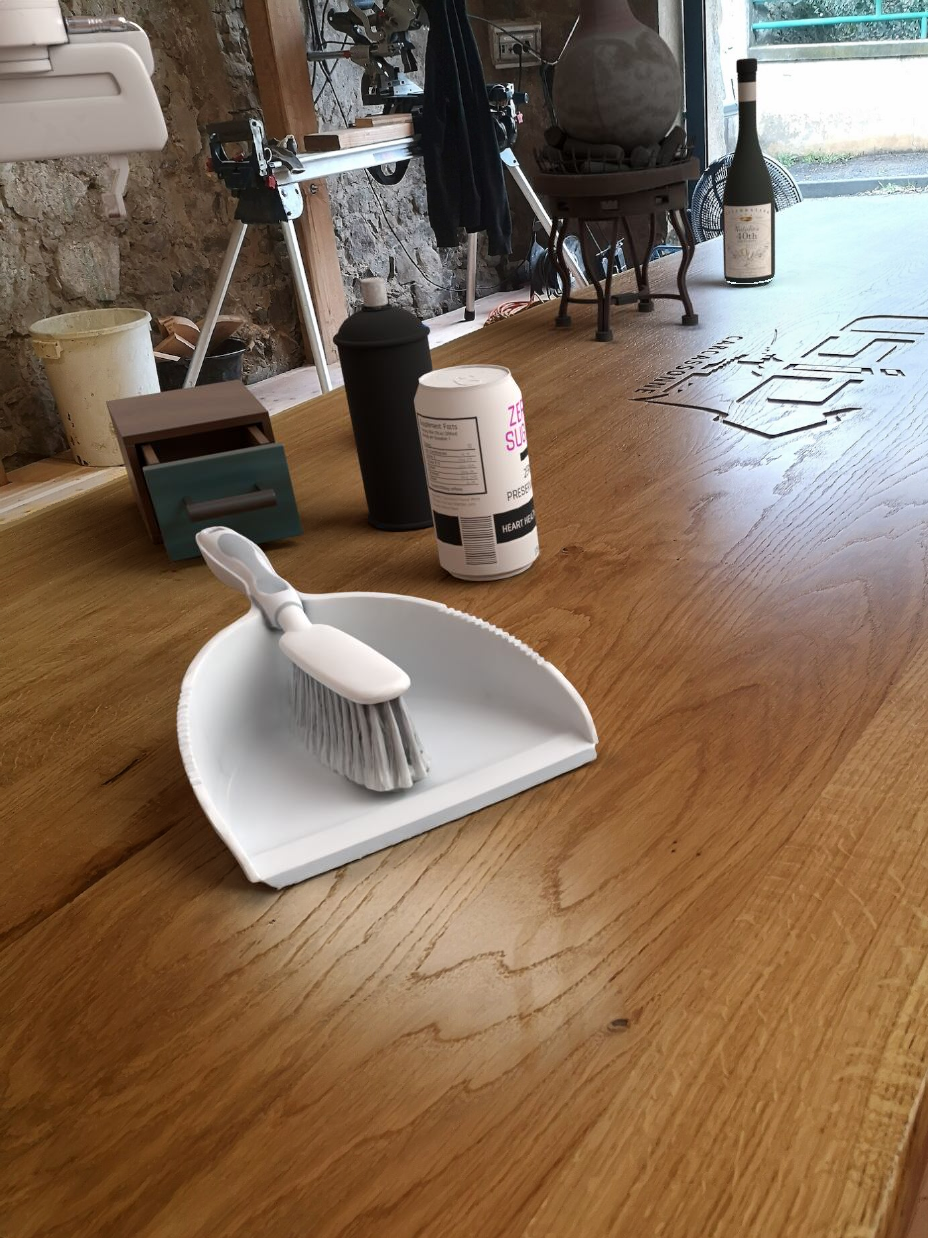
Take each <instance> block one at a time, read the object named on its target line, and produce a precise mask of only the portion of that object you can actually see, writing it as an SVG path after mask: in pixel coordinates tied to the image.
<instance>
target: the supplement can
mask: <svg viewBox="0 0 928 1238" xmlns="http://www.w3.org/2000/svg"><path fill="white" fill-rule="evenodd" d="M520 389H521V388H520V387H519V386H518V383H516V381H515V380H514V378H513V376H512V373H511V370H510V369H509V368H508V367H505V366H502V365H496V364H480V363H479V364H477V363H476V364H464V365H456V366H449V367H443V368H439V369H435V370H433V371H432V372H430V373H427V374H425V375H423V376H422V377H420V378H419V386H418V389H417V392H416V395H415V398H414V405H415V411H416V417H417V423H418V429H419V435H420V442H421V448H422V454H423V460H424V466H425V473H426V479H427V485H428V491H429V497H430V503H431V510H432V516H433V522H434V526H433V527H434V535H435V540H436V546H437V550H438V559H439V565H440V567H441V568H443V569H444V570H445V571H446V572H448V573H449V574H450V575H452V576H453V577H455V578H456V579H461V580H464V581H473V582H474V581H476V582H483V581H496V580H501V579H508V578H511V577H513V576H516V575H519V574H521V573H523V572H525V571H526V570H528V569H530V568H531V566H532V564H533V563H534V561H535V560H537V558H538V556H539V555H540V547H539V546H540V545H539V537H538V528H537V519H536V511H535V502H534V493H533V485H532V477H531V476H532V475H531V468H530V467H531V466H530V460H529V451H528V450H529V449H528V441H527V440H528V439H527V431H526V423H525V416H524V415H525V413H524V406H523V398H522V391H521V390H520Z"/></svg>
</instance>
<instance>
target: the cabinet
mask: <svg viewBox="0 0 928 1238" xmlns="http://www.w3.org/2000/svg"><path fill="white" fill-rule="evenodd" d="M105 403H106V408H107V410H108V414H109V418H110V420H111V424H112V427H113V432H114V433H115V437H116V441H117V444H118V447H119V451H120V454H121V457H122V461H123V464H124V466H125V470H126V474H127V478H128V481H129V484H130V487H131V490H132V494H133V498H134V500H135V504H136V506H137V509H138V510H139V513H140V515H141V518H142V520H143V522H144V525H145V528H146V529H147V532H148V534H149V537H150V539H151V541H152V543H153V545H157V544H162V543H164V540H163V537H162V533H161V530H160V527H159V523H158V520H157V516H156V513H155V509H154V506H153V503H152V499H151V496H150V492H149V489H148V485H147V482H146V478H145V475H144V472H143V467H144V464H143V461H142V457H141V454H140V450H139V447H138V444H139V443H145V442H150V441H156V440H162V439H167V438H173V437H179V436H184V435H190V434H196V433H201V432H207V431H213V430H218V429H224V428H230V427H236V426H241V425H247V424H253V423H254V424H255V425H256V427H257V428H258V429H259V430H260V431H261V433H262V434H263V435H264V436H265V437H266V439H267V440H268V441H269V442H270V444H272V443H276V439H275V433H274V430H273V426H272V422H271V416H270V413H269V411H268V409H267V408H266V407H265V406H264V405H263V404H262V403H261V402H260V401H259V400H258V399H257V397H256V396H255V395H254V394H253V393H252V391H251V390H249V388H248V387H247V386H246V385H245V384H244V383H243V382H242V381H241V379H233V380H227V381H221V382H215V383H209V384H202V385H197V386H191V387H185V388H178V389H173V390H166V391H160V392H154V393H148V394H142V395H136V396H130V397H124V398H118V399H117V398H116V399H111V400H106V401H105Z"/></svg>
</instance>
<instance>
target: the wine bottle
mask: <svg viewBox="0 0 928 1238" xmlns="http://www.w3.org/2000/svg"><path fill="white" fill-rule="evenodd" d="M735 70H736V71H735V72H736V74H737V75H736V76H737V104H738V105H737V109H738V111H737V112H738V131H737V140H736V145H735V149H734V151H733V152H734V153H733V156H732V160H731V163H730V165H729V168H728V172H727V176H726V178H725V183H724V187H723V193H722V194H723V195H722V204H721V205H722V208H721V209H722V210H721V211H722V246H723V247H722V249H723V279H724V280H725V279H726V281H730V282H736V283H754V282H759V281H765V280H768V279H771V278H773V277H775V276H774V275H776V198H775V191H774V186H773V185H774V184H773V180H772V177H771V174H770V172H769V168H768V165H767V163H766V160H765V158H764V155H763V151H762V149H761V145H760V139H759V135H758V127H757V125H758V124H757V75H758V73H757V72H758V59H757V58H756V57H755V58H754V57H749V58H739V59H736V61H735ZM773 279H774V278H773ZM726 281H725V282H726ZM772 281H773V280H771V281H769V282H764V283H758V284H731V283H727V285H730V286H732V287H739V288H740V287H745V288H746V287H747V288H749V287H759V286H764V285H768V284H770V283H771V282H772Z"/></svg>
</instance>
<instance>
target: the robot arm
mask: <svg viewBox="0 0 928 1238" xmlns="http://www.w3.org/2000/svg"><path fill="white" fill-rule="evenodd" d="M127 27H128V28H132V29H134V30H131V31H130V30H129V31H127V30H128V28H127ZM155 68H156V64H155V58H154V53H153V49H152V44H151V41H150V38H149V36H148V35H147V33H146V31H145V30H144V29H143V28H142V27H141V26H140V25H139V24H138V23H136V22H134V21H132V20H128V19H126V18H125V16H124V15H122V14H114V13H113V14H112V13H111V14H105V15H101V16H91V15H67V16H64V15H63V14H62V10H61V6H60V3H59V0H0V164H11V163H23V162H35V161H47V160H60V159H71V158H84V157H94V156H96V157H97V156H106V160H107V163H108V167H109V169H111V170H113V171H115V175H114V179H113V183H112V186H111V190H110V192H104V193H101V199H102V202H103V204H104V206H105V207H104V210H105V214H106V218H107V219H108V220H117V219H118V220H119V219H126V218H127V219H128V215H127V211H126V207H125V201H124V197H123V194H124V193H125V188H126V186H127V185H126V184H127V181H128V178H129V175H130V171H131V169H130V168H131V167H130V165H129V159H128V156H127V154H133V153H144V152H146V153H147V152H156V151H162V150H163V149H164V147H165V146H166V143H167V141H168V138H169V134H168V129H167V125H166V121H165V118H164V114H163V112H162V111H163V110H162V108H161V105H160V101H159V98H158V96H157V93H156V90H155V88H154V84H153V82H152V78H153V76H154V73H155V70H156V69H155ZM4 230H5V226H4V224H3V219H2V217H0V231H4Z"/></svg>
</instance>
